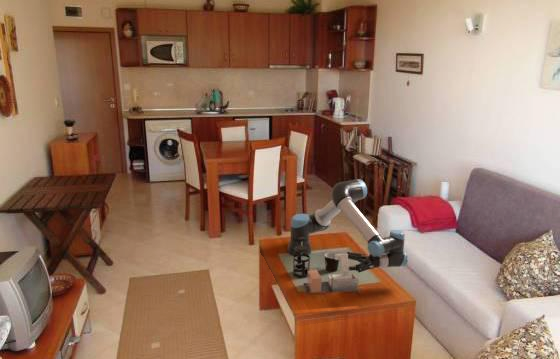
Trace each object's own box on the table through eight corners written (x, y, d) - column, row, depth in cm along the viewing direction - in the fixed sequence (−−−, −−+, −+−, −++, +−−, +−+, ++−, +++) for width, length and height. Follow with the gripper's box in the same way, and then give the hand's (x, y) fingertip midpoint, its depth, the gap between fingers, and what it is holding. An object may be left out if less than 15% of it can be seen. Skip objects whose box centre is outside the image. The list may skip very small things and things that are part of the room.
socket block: (307, 283, 238) (307, 270, 236) (316, 283, 238) (316, 269, 237) (311, 292, 228) (311, 279, 226) (320, 292, 229) (321, 278, 227)
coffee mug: (338, 275, 251) (339, 259, 248) (323, 274, 252) (323, 257, 250) (340, 267, 262) (340, 251, 259) (325, 265, 263) (325, 249, 261)
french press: (311, 280, 245) (313, 241, 239) (295, 282, 243) (295, 242, 237) (306, 271, 256) (307, 233, 250) (290, 272, 254) (290, 234, 249)
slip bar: (328, 281, 236) (329, 253, 232) (350, 280, 238) (351, 252, 234) (330, 285, 232) (331, 256, 228) (352, 284, 234) (353, 255, 230)
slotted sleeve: (303, 285, 239) (303, 274, 237) (352, 282, 243) (352, 271, 241) (307, 296, 227) (308, 285, 226) (359, 293, 231) (359, 281, 230)
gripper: (386, 277, 224) (345, 280, 221) (369, 257, 248) (332, 259, 245) (387, 263, 222) (346, 266, 219) (370, 244, 246) (332, 246, 243)
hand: (338, 262), depth 232 cm, fingers open, 13 cm apart
